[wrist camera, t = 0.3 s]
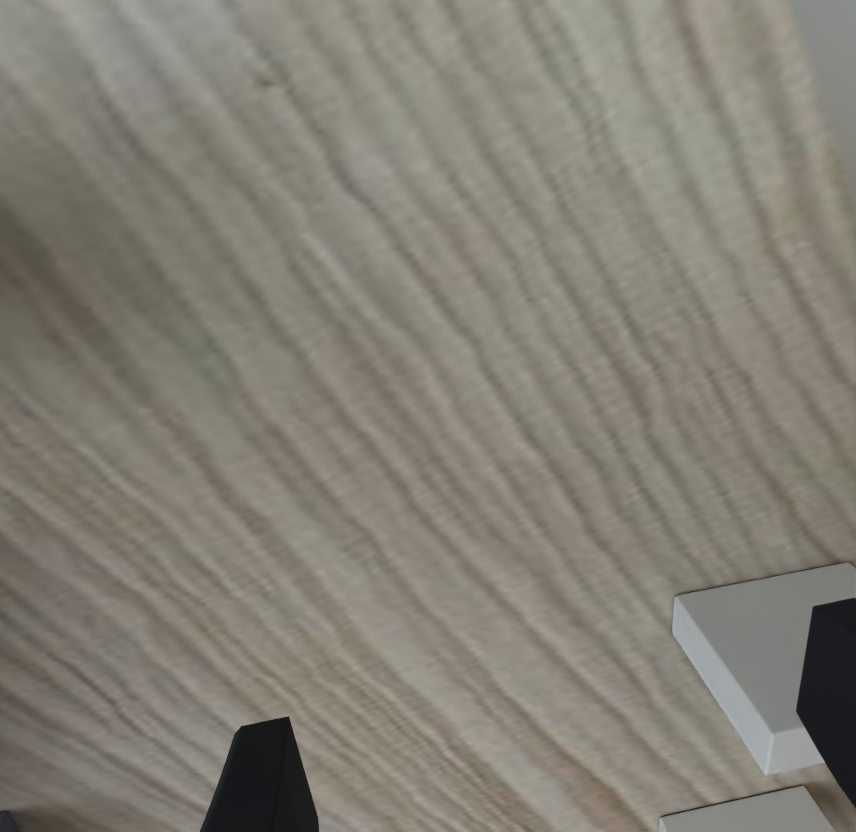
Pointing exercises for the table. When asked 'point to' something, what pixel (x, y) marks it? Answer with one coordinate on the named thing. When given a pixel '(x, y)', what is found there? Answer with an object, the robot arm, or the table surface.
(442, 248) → the table surface
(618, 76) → the table surface
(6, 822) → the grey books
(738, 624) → the cream blocks
